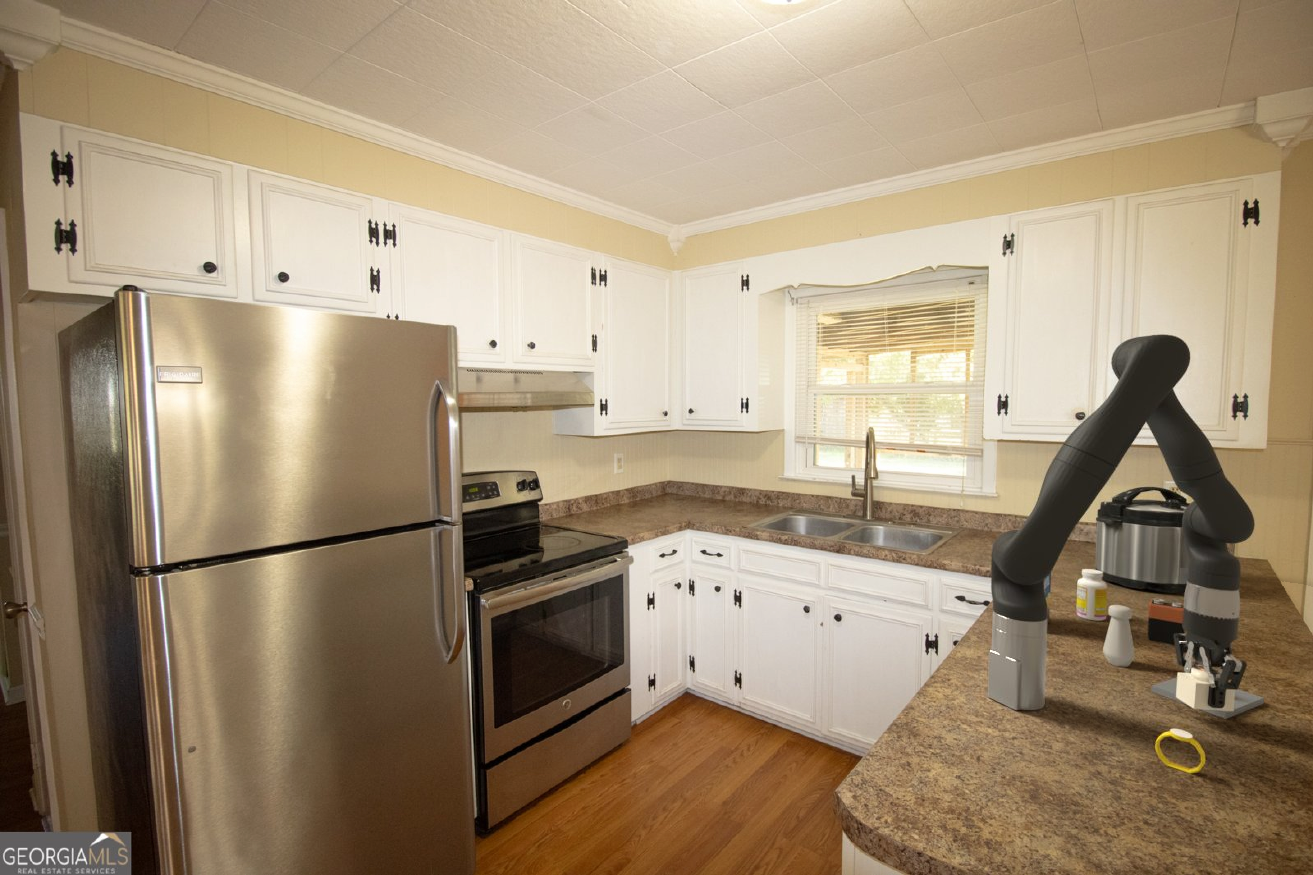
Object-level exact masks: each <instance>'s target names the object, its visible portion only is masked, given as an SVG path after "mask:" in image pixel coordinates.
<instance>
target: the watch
mask: <svg viewBox="0 0 1313 875" xmlns="http://www.w3.org/2000/svg"><path fill="white" fill-rule="evenodd" d="M1168 737H1172V738H1173V739H1175V740H1178V741H1181V742H1185V743H1186V742H1187V743H1189V744H1191V745H1192V746H1194V747H1195V749H1196V750H1197V752H1198V754H1199V755H1200V763H1199V765H1197V766H1194V767H1191V768H1190V767H1188V766H1184V765H1182V764H1178V763H1176V762H1172V761H1170V760H1169V759H1168V758H1167V757H1166V756H1165V755H1164V753H1163V751H1162V748H1161V746H1160V744H1161V741H1162V740H1163V739H1164V738H1168ZM1154 748H1155V752H1156V754H1157V756H1158V758H1159V760H1160V761H1162V763H1163V764H1164V765H1165V766H1166V767H1169V768H1173V769H1175V770H1178V771H1180V772H1183V773H1187V774H1190V775H1191V774H1194V773H1195V774H1196V773H1199V772H1200V771H1201V770H1202V768H1203V767H1204V765H1205V763H1206V753H1205V751H1204V749H1203V747H1202V745H1201V744H1200V743H1199V742H1198V741H1197V740H1195V739H1194V738H1193V734H1191V733H1190V732H1188V731H1185V730H1184V729H1180V728H1170V730H1169V731H1164V732H1163V733H1161V734H1160V735H1159V736H1158V737H1157V738H1156V741H1155V746H1154Z"/></svg>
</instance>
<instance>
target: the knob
mask: <svg viewBox="0 0 1313 875" xmlns="http://www.w3.org/2000/svg"><path fill="white" fill-rule="evenodd" d="M1176 677H1177V688H1176V698H1178V699H1179V700H1181V701H1183V702H1184V703H1186V704H1187V706H1189V707H1190V708H1192V709H1194V710H1200V709H1204V710H1221V711H1234V699H1235V690H1232V689H1227V690H1226V696H1225V705H1224V707H1223V708H1212V707H1210V706H1209V705H1208V693H1209V686H1210V684H1209V679H1208V674H1207V673H1205V671H1204V668H1203V667H1201V666H1196V667H1194V668H1191V673H1186V672H1177V676H1176ZM1219 678H1220V675H1219V674H1216V680H1217V681H1219ZM1184 703H1183V704H1184ZM1186 704H1185V705H1186Z"/></svg>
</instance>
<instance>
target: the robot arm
mask: <svg viewBox="0 0 1313 875" xmlns="http://www.w3.org/2000/svg"><path fill="white" fill-rule="evenodd" d="M1110 363H1111V369H1112V371H1113V373H1114V374H1115V376H1116V378H1117V380H1118V381H1117V383H1116V385H1115V386H1114V388H1113V389H1112V391H1111V392H1110V394H1109V395H1108V397H1107V398H1105V400H1104V402H1102V404H1101V405H1100V406H1098V408H1096V409H1095V411H1093V412H1092V414H1090V415H1089V416H1088V417H1087V418H1085V419H1084V420H1083V421H1082V422H1081V423H1080V424H1079V425H1078V426H1077V427H1076V428H1075V429H1074V430H1073V431H1072V432H1071V433H1070V434H1069V435H1068V436H1067V438H1066V439H1065V441H1064V442H1063V443H1062V445H1061V447H1060V448H1059V450H1058V451H1057V453H1056V454H1055V456H1054V458H1053V459H1052V461H1051V462H1050V464H1049V466H1048V468H1047V470H1046V473H1045V476H1044V478H1043V481H1042V484H1041V486H1040V492H1039V494H1038V497H1037V500H1036V502H1035V505H1034V507H1033V509H1032V510H1031V512H1030V514H1029V516H1028V517H1027V518H1026V520H1025V521H1024V522H1023V524H1022V525H1021V526H1020V528H1019V529H1014V530H1013V529H1012V530H1008V531H1005V532H1003V533H1002V534H1000V535H999V536H998V537H996V539H995V541H994V542H993V545H992V547H991V548H992V550H991V558H990V559H991V567H990V568H991V570H990V571H991V572H990V574H991V576H990V577H991V578H990V582H991V584H990V589H991V598H992V623H991V624H992V628H991V629H992V632H991V649H990V650H988V662H987V663H988V664H987V666H988V669H987V671H988V674H987V698H990V699H992V700H994V701H996V702H998V703H1000V704H1002V705H1004V706H1006V707H1008V708H1009V709H1012V710H1014V711H1019V710H1024V711H1037V710H1041V709H1043V708H1044V707H1045V700H1046V670H1047V669H1046V667H1047V666H1046V664H1047V638H1048V637H1047V634H1048V623H1047V613H1048V606H1047V602H1046V598H1045V592H1044V579H1045V578H1046V577H1047V576H1048V575H1049V574H1050V573H1051V574H1052V571H1053V569H1054V567H1055V565H1056V563H1057V562H1058V559H1059V558H1060V556H1061V553H1062V552H1063V549H1064V547H1065V545H1066V544H1067V541H1068V539H1069V538H1070V536H1071V534H1072V533H1073V531H1074V529H1075V527H1076V526H1077V524H1079V522H1080V521H1081V519H1082V518H1083V517H1084V515H1085V513H1087V512H1088V509H1090V507H1091V505H1092V504H1093V503H1094V501H1095V500H1096V498H1097V496H1098V495H1099V494H1100V493H1101V491H1102V489H1104V488H1105V486H1106V484H1107V483H1108V482H1109V481H1110V478H1111V477H1112V476H1113V474H1114V473H1115V471H1116V469H1117V468H1118V467H1119V465H1120V463H1122V462H1121V461H1122V460H1123V458H1124V457H1125V455H1126V454H1127V452H1128V450H1129V449H1130V447H1132V446H1131V445H1132V444H1133V443H1134V442H1135V440H1136V439H1137V437H1138V436H1139V435H1140V434H1139V433H1140V432H1141V431H1142V429H1143V427H1144V425H1145V424H1146V425H1147V426H1148V428H1149V430H1150V432H1151V434H1152V436H1153V437H1154V439H1155V442H1156V444H1157V447H1158V448H1159V449H1160V450H1159V451H1160V452H1161V454H1162V457H1163V459H1164V462H1165V463H1166V466H1167V468H1168V471H1169V473H1170V475H1171V478H1172V479H1173V483H1175V486H1176V487H1177V489H1178V490H1179V491H1180V492H1182V493H1183V494H1185V495H1187V496H1188V497H1190V498H1191V499H1192V500H1193V501H1192V502H1189V503H1190V504H1189V505H1188V506H1187V508H1186V509H1185V511H1184V514H1183V518H1182V528H1183V534H1184V539H1185V544H1186V549H1187V552H1188V556H1189V566H1188V581H1187V586H1186V590H1185V593H1184V598H1183V599H1184V600H1183V606H1184V610H1183V624H1182V627H1183V629H1184V630H1185V632H1186V633H1184V634H1181V633H1179V634H1177V633H1175V634H1174V642H1175V645H1174V646H1175V647H1174V648H1175V654H1176V655H1175V656H1176V657H1175V658H1176V664H1177V665H1178V666H1179V667H1182V668H1183V670H1184V673H1191V668H1194V667H1196V666H1201V667H1203V668H1204V671H1205V673H1207V674H1208V679H1209V684H1210V686H1209V693H1208V705H1209V706H1210V707H1212V708H1223V707H1224V705H1225V696H1226V690H1227V689H1232V690H1237V689H1239V687H1240V684H1241V682H1242V678H1243V677H1244V675H1245V672H1246V669H1247V664H1248V663H1247V662H1246V660H1243V659H1242V660H1241V659H1240V660H1239V659H1238V658H1236V657H1235V656H1234V655H1233V650H1232V643H1233V642H1234V641H1237V640H1238V636H1239V626H1240V625H1239V621H1240V611H1241V610H1240V608H1241V597H1240V582H1241V570H1242V568H1241V562H1240V560H1239V559H1238V557H1236V556H1234V555H1233V554H1232V553H1230V550H1228V545H1227V544H1239V543H1242V542H1245V541H1247V540H1248V539H1249V538H1250V537H1251V536H1252V535H1253V534H1254V531H1255V517H1254V515H1253V514H1254V513H1253V512H1252V509H1251V508H1250V507H1249V505H1248V504H1247V502H1246V501H1245V500H1244V498H1243V497H1242V495H1241V494H1240V493H1239V491H1238V490H1237V488H1236V487H1235V486H1234V485H1233V484H1232V483H1231V482H1230V480H1228V478H1227V476H1226V474H1225V472H1224V470H1223V467H1222V465H1221V462H1220V461H1219V459H1218V456H1217V454H1216V451H1215V449H1214V446H1212V443H1211V442H1210V440H1209V439H1208V437H1207V436H1206V434H1205V433H1204V431H1203V430H1202V429H1201V427H1199V425H1198V424H1197V422H1196V421H1195V420H1193V418H1192V417H1191V416H1190V415H1189V413H1188V412H1187V411H1186V409H1185V408H1184V406H1183V405H1182V403H1181V402H1180V400H1179V398H1178V396H1177V394H1176V393H1175V390H1174V389H1175V387H1176V385H1177V384H1178V383H1179V382H1180V380H1182V378H1183V377H1184V376H1185V374H1186V372H1187V371H1188V369H1189V366H1190V363H1191V351H1190V347H1189V346H1188V344H1187V343H1186V341H1184V340H1183V339H1181V338H1180V337H1178V336H1176V335H1172V334H1164V333H1163V334H1152V335H1145V336H1136V337H1132V338H1130V339H1126V340H1125V341H1123V342H1121V343H1120V344H1119V345H1118V346H1117V347H1116V348H1115V350H1114V352H1112V356H1111V362H1110ZM1184 654H1185V657H1184ZM1216 668H1219V669H1216ZM1216 674H1219V675H1220V678H1219V681H1217V680H1216Z"/></svg>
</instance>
